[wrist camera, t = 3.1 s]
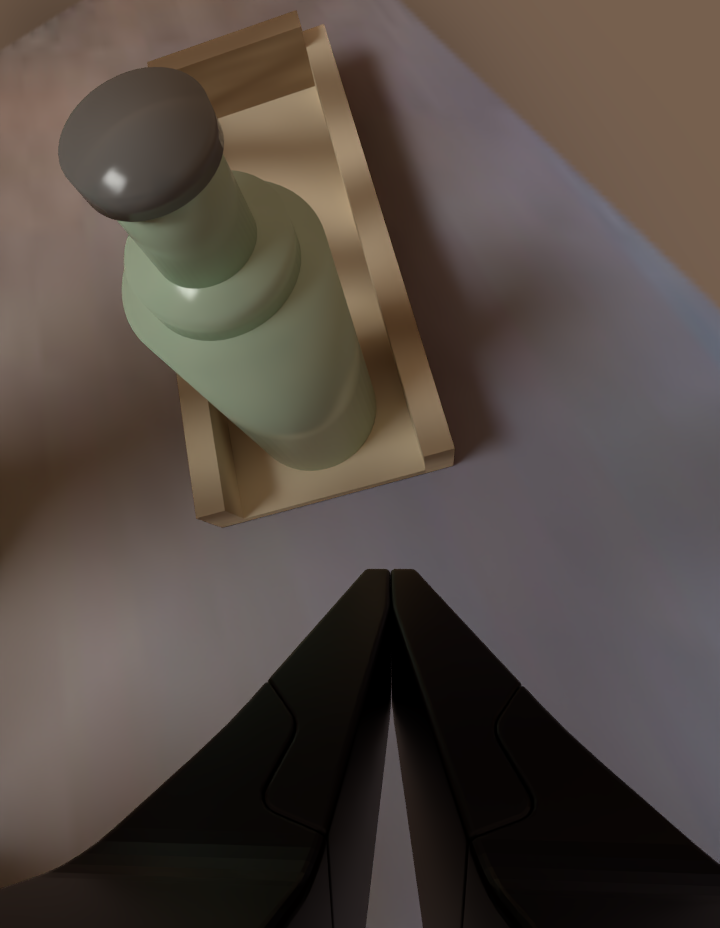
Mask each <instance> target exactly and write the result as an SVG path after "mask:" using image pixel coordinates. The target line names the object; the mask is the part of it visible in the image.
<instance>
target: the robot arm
mask: <svg viewBox="0 0 720 928" xmlns="http://www.w3.org/2000/svg"><path fill="white" fill-rule="evenodd" d="M391 688H392V708H393V717H394V724H395V732H396V739H397V746H398V753H399V760H400V767H401V774H402V781H403V788H404V795H405V803H406V810H407V817H408V824H409V831H410V838H411V845H412V852H413V859H414V866H415V874H416V881H417V888H418V895H419V902H420V909H421V916H422V923H423V928H720V864H719V863H718V862H716V861H715V860H714V859H712V858H711V857H710V856H709V855H708V854H706V853H705V852H704V851H703V850H701V849H700V848H699V847H698V846H697V845H695V844H694V843H693V842H692V841H691V840H690V839H689V838H687V837H686V836H685V835H684V834H683V833H682V832H681V831H679V830H678V829H677V828H676V827H675V826H674V825H672V824H671V823H670V822H669V821H668V820H667V819H666V818H664V817H663V816H662V815H661V814H660V813H659V812H658V811H656V810H655V809H654V808H653V807H652V806H651V805H650V804H648V803H647V802H646V801H645V800H644V799H643V798H642V797H640V796H639V795H638V794H637V793H636V792H635V791H634V790H632V789H631V788H630V787H629V786H628V785H627V784H626V783H624V782H623V781H622V780H621V779H620V778H619V777H618V776H616V775H615V774H614V773H613V772H612V771H611V770H610V769H608V768H607V767H606V766H605V765H604V764H603V763H602V762H600V761H599V760H598V759H597V758H596V757H595V756H594V755H593V754H592V753H591V752H590V751H588V750H587V749H586V748H585V747H584V746H583V745H582V744H581V743H580V742H579V741H578V740H576V739H575V738H574V737H573V736H572V735H571V734H570V733H569V732H568V731H567V730H566V729H565V728H564V727H563V726H562V725H561V724H560V723H559V722H558V721H557V720H556V719H555V718H554V717H553V716H552V715H551V714H550V713H549V712H548V711H547V710H546V709H545V708H544V707H543V706H542V705H541V704H540V703H539V702H538V701H537V700H536V699H535V698H534V697H533V696H532V694H531V693H530V692H529V691H528V690H527V689H526V688H525V687H523V686H521V683H520V682H519V681H518V680H517V679H516V678H515V677H514V675H513V674H512V673H511V672H510V671H509V670H508V669H507V668H506V667H505V666H504V665H503V664H502V663H501V662H500V660H499V659H498V658H497V657H496V656H495V655H494V654H493V653H492V652H491V651H490V650H489V649H488V648H487V646H486V645H485V644H484V643H483V642H482V641H481V640H480V639H479V638H478V637H477V636H476V635H475V634H474V633H473V631H472V630H471V629H470V628H469V627H468V626H467V625H466V624H465V623H464V622H463V621H462V620H461V619H460V618H459V616H458V615H457V614H456V613H455V612H454V611H453V610H452V609H451V608H450V607H449V606H448V605H447V604H446V602H445V601H444V600H443V599H442V598H441V597H440V596H439V595H438V594H437V593H436V592H435V591H434V590H433V589H432V587H431V586H430V585H429V584H428V583H427V582H426V581H425V580H424V579H423V578H422V577H421V576H420V575H419V574H418V572H417V571H415V570H414V569H393V570H392V571H391V574H390V572H389V570H387V569H367V570H365V571H364V572H363V573H362V574H361V575H360V577H359V578H358V579H357V580H356V581H355V582H354V583H353V584H352V586H351V587H350V588H349V589H348V590H347V591H346V592H345V594H344V595H343V596H342V597H341V598H340V599H339V600H338V601H337V603H336V604H335V605H334V606H333V607H332V608H331V609H330V611H329V612H328V613H327V614H326V615H325V616H324V617H323V618H322V620H321V621H320V622H319V623H318V624H317V625H316V626H315V628H314V629H313V630H312V631H311V632H310V633H309V634H308V635H307V637H306V638H305V639H304V640H303V641H302V642H301V643H300V645H299V646H298V647H297V648H296V649H295V650H294V651H293V652H292V654H291V655H290V656H289V657H288V658H287V659H286V660H285V662H284V663H283V664H282V665H281V666H280V667H279V668H278V669H277V671H276V672H275V673H274V674H273V675H272V676H271V677H270V679H269V680H268V682H267V683H265V684H264V685H263V686H262V687H261V688H260V690H259V691H258V692H257V693H256V694H255V695H254V696H253V697H252V699H251V700H250V701H249V702H248V703H247V704H246V705H245V706H244V707H243V708H242V709H241V710H240V711H239V712H238V713H237V715H236V716H235V717H234V718H233V719H232V720H231V721H230V722H229V723H228V724H227V725H226V726H225V727H224V728H223V729H222V730H221V731H220V732H219V733H218V734H217V735H215V736H214V737H213V738H212V739H211V740H210V741H209V742H208V743H207V744H206V745H205V746H204V747H203V748H202V749H201V750H200V751H199V752H198V753H197V754H195V755H194V756H193V757H192V758H191V759H190V760H189V761H188V762H187V763H185V764H184V765H183V766H182V767H181V768H180V769H179V770H178V771H177V772H176V773H174V774H173V775H172V776H171V777H170V778H169V779H168V780H167V781H166V782H164V783H163V784H162V785H161V786H160V787H159V788H158V789H157V790H156V791H155V792H153V793H152V794H151V795H150V796H149V797H148V798H147V799H146V800H145V801H144V802H142V803H141V804H140V805H139V806H138V807H137V808H136V809H135V810H134V811H132V812H131V813H130V814H129V815H128V816H127V817H126V818H125V819H124V820H123V821H121V822H120V823H119V824H118V825H117V826H116V827H115V828H114V829H112V830H111V831H110V832H109V833H108V834H106V835H105V836H104V837H103V838H102V839H101V840H99V841H98V842H97V843H95V844H94V845H93V846H91V847H90V848H89V849H87V850H86V851H84V852H83V853H82V854H80V855H79V856H77V857H75V858H74V859H72V860H70V861H69V862H67V863H66V864H64V865H62V866H60V867H58V868H56V869H54V870H52V871H49V872H47V873H45V874H42V875H40V876H37V877H34V878H32V879H29V880H26V881H23V882H19V883H16V884H13V885H10V886H7V887H4V888H1V889H0V928H365V927H366V918H367V910H368V901H369V893H370V884H371V875H372V867H373V858H374V849H375V841H376V832H377V824H378V815H379V806H380V798H381V789H382V781H383V772H384V763H385V755H386V746H387V738H388V729H389V720H390V709H391Z"/></svg>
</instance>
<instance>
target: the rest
mask: <svg viewBox="0 0 720 928" xmlns="http://www.w3.org/2000/svg"><path fill="white" fill-rule="evenodd" d="M147 64H148V67H166V68H173V69H176V70H180V71H182V72H184V73H187V74H188V75H190V76H192V77H193V78H195V79H196V80H197V81H198V82H199V83H200V84H201V86H202V87H203V88H204V90H205V92H206V94H207V96H208V98H209V100H210V102H211V105H212V107H213V109H214V111H215V113H216V116H217V118H218V120H219V122H220V124H221V127H222V130H223V134H224V150H223V154H224V156H225V159H226V161H227V163H228V165H229V167H230V169H231V170H235V171H240V172H245V173H248V174H251V175H254V176H256V177H258V178H260V179H262V180H264V181H267V182H271V183H274V184H277V185H280V186H283V187H285V188H287V189H289V190H291V191H293V192H294V193H295V194H297V195H298V196H300V197H301V198H302V199H303V200H304V201H306V202H307V203H308V204H309V205H310V206H311V208H312V209H313V210H314V212H315V213H316V214H317V216H318V218H319V220H320V222H321V223H322V226H323V228H324V231H325V234H326V237H327V241H328V244H329V247H330V250H331V254H332V257H333V260H334V263H335V266H336V270H337V273H338V276H339V279H340V283H341V286H342V289H343V292H344V296H345V299H346V302H347V305H348V308H349V312H350V315H351V318H352V321H353V325H354V328H355V331H356V334H357V337H358V341H359V344H360V347H361V350H362V354H363V357H364V360H365V363H366V366H367V370H368V373H369V376H370V379H371V383H372V386H373V389H374V392H375V397H376V408H377V409H376V418H375V422H374V425H373V428H372V430H371V433H370V435H369V436H368V438H367V440H366V441H365V443H364V444H363V445H362V447H361V448H360V449H359V450H358V451H357V452H356V453H355V454H354V455H352V456H351V457H350V458H348V459H347V460H345V461H344V462H342V463H340V464H338V465H336V466H333V467H330V468H327V469H322V470H315V471H304V470H298V469H293V468H290V467H287V466H285V465H283V464H281V463H279V462H278V461H276V460H275V459H274V458H272V457H271V456H270V455H269V454H268V453H267V452H266V451H265V450H263V449H262V448H261V447H260V446H259V445H258V444H257V443H255V442H254V441H253V440H252V439H251V438H250V437H249V436H248V435H246V434H245V433H244V432H243V431H242V430H241V429H240V428H239V427H237V426H236V425H235V424H234V423H233V422H232V421H231V420H229V419H228V418H227V417H226V416H225V415H224V414H223V413H222V412H220V411H219V410H218V409H217V408H216V407H215V406H214V405H212V404H211V403H210V402H209V401H208V400H207V399H206V398H205V397H203V396H202V395H201V394H200V393H199V392H198V391H197V390H196V389H194V388H193V387H192V386H191V385H190V384H189V383H188V382H186V381H185V380H184V379H183V378H182V377H181V376H180V375H179V374H177V373H176V376H177V383H178V391H179V398H180V405H181V412H182V419H183V427H184V434H185V441H186V448H187V455H188V463H189V470H190V477H191V484H192V492H193V499H194V506H195V513H196V518H197V519H199V520H202V521H205V522H208V523H210V524H213V525H216V526H219V527H222V528H223V527H227V526H231V525H234V524H238V523H242V522H246V521H249V520H253V519H257V518H260V517H264V516H268V515H272V514H275V513H279V512H283V511H287V510H290V509H294V508H298V507H302V506H305V505H309V504H313V503H316V502H320V501H324V500H328V499H331V498H335V497H339V496H343V495H346V494H350V493H354V492H357V491H361V490H365V489H369V488H372V487H376V486H380V485H384V484H387V483H391V482H395V481H398V480H402V479H406V478H410V477H413V476H417V475H421V474H425V473H428V472H432V471H436V470H439V469H443V468H447V467H451V466H453V462H454V451H455V448H454V444H453V441H452V438H451V435H450V431H449V428H448V425H447V422H446V418H445V415H444V412H443V409H442V406H441V402H440V399H439V396H438V393H437V389H436V386H435V383H434V380H433V376H432V373H431V370H430V367H429V363H428V360H427V357H426V354H425V350H424V347H423V344H422V341H421V337H420V334H419V331H418V328H417V325H416V321H415V318H414V315H413V312H412V308H411V305H410V302H409V299H408V295H407V292H406V289H405V286H404V282H403V279H402V276H401V273H400V269H399V266H398V263H397V260H396V257H395V253H394V250H393V247H392V244H391V240H390V237H389V234H388V231H387V227H386V224H385V221H384V218H383V214H382V211H381V208H380V205H379V201H378V198H377V195H376V192H375V188H374V185H373V182H372V179H371V176H370V172H369V169H368V166H367V163H366V159H365V156H364V153H363V150H362V146H361V143H360V140H359V137H358V133H357V130H356V127H355V124H354V120H353V117H352V114H351V111H350V107H349V104H348V101H347V98H346V95H345V91H344V88H343V85H342V82H341V78H340V75H339V72H338V69H337V65H336V62H335V59H334V56H333V52H332V49H331V46H330V43H329V39H328V36H327V33H326V30H325V27H324V24H323V25H320V26H317V27H314V28H311V29H308V30H305V31H302V28H301V25H300V21H299V18H298V14H297V11H293V12H290V13H287V14H284V15H281V16H278V17H276V18H273V19H270V20H267V21H264V22H261V23H258V24H256V25H253V26H250V27H247V28H244V29H241V30H238V31H236V32H233V33H230V34H227V35H224V36H221V37H218V38H215V39H213V40H210V41H207V42H204V43H201V44H198V45H195V46H193V47H190V48H187V49H184V50H181V51H178V52H175V53H173V54H170V55H167V56H164V57H161V58H158V59H155V60H153V61H150V62H147Z"/></svg>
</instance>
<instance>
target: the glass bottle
mask: <svg viewBox="0 0 720 928" xmlns="http://www.w3.org/2000/svg"><path fill="white" fill-rule="evenodd" d="M223 150H224V134H223V130H222V127H221V124H220V122H219V120H218V118H217V116H216V113H215V111H214V109H213V107H212V105H211V102H210V100H209V98H208V96H207V94H206V92H205V90H204V88H203V87H202V86H201V84H200V83H199V82H198V81H197V80H196V79H195V78H193V77H192V76H190V75H188V74H187V73H184V72H182V71H180V70H176V69H173V68H166V67H147V68H141V69H136V70H132V71H129V72H126V73H123V74H120V75H118V76H116V77H114V78H112V79H110V80H108V81H106V82H105V83H103V84H101V85H100V86H98V87H97V88H96V89H94V90H93V91H92V92H90V93H89V94H88V95H87V96H86V97H85V98H84V99H83V100H82V101H81V102H80V103H79V104H78V105H77V106H76V108H75V109H74V110H73V112H72V113H71V115H70V116H69V118H68V120H67V121H66V123H65V125H64V128H63V130H62V133H61V136H60V140H59V146H58V156H59V162H60V166H61V169H62V171H63V173H64V174H65V176H66V177H67V179H68V180H69V181H70V182H71V184H72V185H73V186H74V187H75V188H76V189H77V190H78V192H79V193H80V194H81V195H82V196H83V197H84V198H85V200H86V201H87V202H88V203H89V204H90V205H91V206H92V207H93V208H94V209H95V210H96V211H97V212H99V213H100V214H102V215H104V216H106V217H108V218H111V219H114V220H117V221H118V222H119V224H120V225H121V226H122V227H123V228H124V230H125V231H126V232H127V233H128V234H129V235H128V238H127V242H126V245H125V252H124V273H123V280H122V301H123V307H124V311H125V314H126V317H127V320H128V322H129V324H130V326H131V328H132V330H133V331H134V333H135V334H136V335H137V336H138V338H139V339H140V340H141V341H142V342H143V343H144V344H145V345H146V346H147V347H148V348H149V349H150V350H151V351H153V352H154V353H155V354H156V355H157V356H158V357H159V358H160V359H162V360H163V361H164V362H165V363H166V364H167V365H168V366H170V367H171V368H172V369H173V370H174V371H175V372H176V373H177V374H179V375H180V376H181V377H182V378H183V379H184V380H185V381H186V382H188V383H189V384H190V385H191V386H192V387H193V388H194V389H196V390H197V391H198V392H199V393H200V394H201V395H202V396H203V397H205V398H206V399H207V400H208V401H209V402H210V403H211V404H212V405H214V406H215V407H216V408H217V409H218V410H219V411H220V412H222V413H223V414H224V415H225V416H226V417H227V418H228V419H229V420H231V421H232V422H233V423H234V424H235V425H236V426H237V427H239V428H240V429H241V430H242V431H243V432H244V433H245V434H246V435H248V436H249V437H250V438H251V439H252V440H253V441H254V442H255V443H257V444H258V445H259V446H260V447H261V448H262V449H263V450H265V451H266V452H267V453H268V454H269V455H270V456H271V457H272V458H274V459H275V460H276V461H278V462H279V463H281V464H283V465H285V466H287V467H290V468H293V469H298V470H304V471H315V470H322V469H327V468H330V467H333V466H336V465H338V464H340V463H342V462H344V461H345V460H347V459H348V458H350V457H351V456H352V455H354V454H355V453H356V452H357V451H358V450H359V449H360V448H361V447H362V445H363V444H364V443H365V441H366V440H367V438H368V436H369V435H370V433H371V430H372V428H373V425H374V422H375V418H376V409H377V408H376V397H375V392H374V389H373V386H372V383H371V379H370V376H369V373H368V370H367V366H366V363H365V360H364V357H363V354H362V350H361V347H360V344H359V341H358V337H357V334H356V331H355V328H354V325H353V321H352V318H351V315H350V312H349V308H348V305H347V302H346V299H345V296H344V292H343V289H342V286H341V283H340V279H339V276H338V273H337V270H336V266H335V263H334V260H333V257H332V254H331V250H330V247H329V244H328V241H327V237H326V234H325V231H324V228H323V226H322V223H321V222H320V220H319V218H318V216H317V214H316V213H315V212H314V210H313V209H312V208H311V206H310V205H309V204H308V203H307V202H306V201H304V200H303V199H302V198H301V197H300V196H298V195H297V194H295V193H294V192H293V191H291V190H289V189H287V188H285V187H283V186H280V185H277V184H274V183H271V182H267V181H264V180H262V179H260V178H258V177H256V176H254V175H251V174H248V173H245V172H240V171H235V170H231V169H230V167H229V165H228V163H227V161H226V159H225V156H224V154H223Z"/></svg>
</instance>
